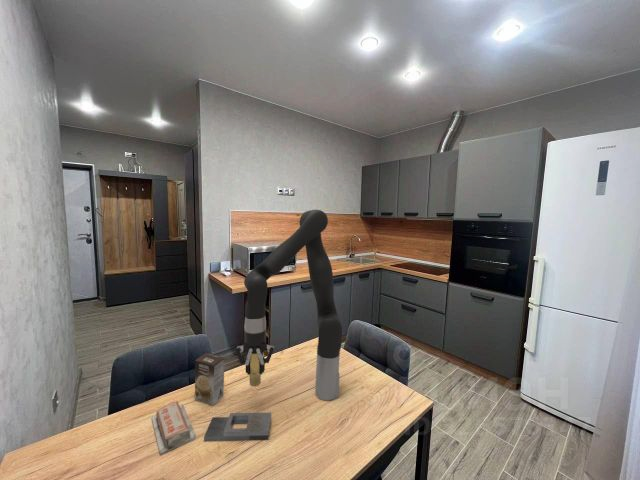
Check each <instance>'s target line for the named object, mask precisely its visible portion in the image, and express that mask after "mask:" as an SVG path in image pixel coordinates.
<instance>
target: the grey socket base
mask: <svg viewBox="0 0 640 480" xmlns="http://www.w3.org/2000/svg"><path fill="white" fill-rule="evenodd" d="M271 423H272V412H231V413H230V414H229V416H226V417H224V416H223V417H222V416H221V417H219V416H217V417H212V418H211V420H210V422H209V424H208V426H207V429H206V431H205V434H204V436H203V442H222V441H223V442H226V441H232V442H233V441H266V440H269V437H270V432H271V431H270V430H271ZM242 424H243V425H246V427H245V428H244V427H243V428H242V427H241V428H240V427H239V428H233V425H242Z"/></svg>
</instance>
